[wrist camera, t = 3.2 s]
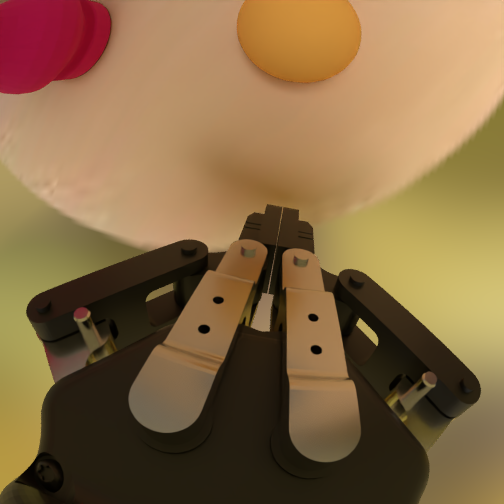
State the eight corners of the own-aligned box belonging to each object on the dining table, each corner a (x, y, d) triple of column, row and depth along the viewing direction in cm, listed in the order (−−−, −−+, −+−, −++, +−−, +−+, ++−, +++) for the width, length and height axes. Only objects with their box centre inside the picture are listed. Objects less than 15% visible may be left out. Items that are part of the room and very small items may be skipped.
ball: (242, 77, 13) (215, 70, 8) (254, -6, 10) (233, -46, 5) (341, 94, 13) (365, 95, 8) (353, 10, 9) (380, -23, 5)
